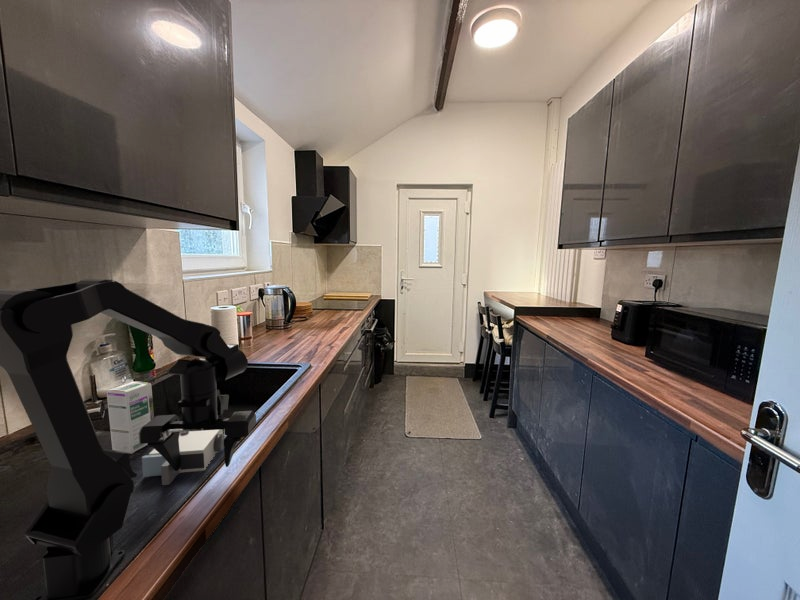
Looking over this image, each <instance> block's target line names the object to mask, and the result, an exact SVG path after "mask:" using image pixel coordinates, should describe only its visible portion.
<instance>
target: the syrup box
mask: <svg viewBox="0 0 800 600" xmlns="http://www.w3.org/2000/svg"><path fill="white" fill-rule="evenodd" d="M152 386H153V385H152V383H150V382H146V381H130V382H127V383H126V384H122V385H119V386H117V387H114V388H110V389H108V390H106V400H107V409H108V410H107V411H108V419H109V430H110V437H111V439H110V441H111V448H112V449H111V451H114V452H120V453H126V454H131V455H132V454H134V453H135V452H137V451H139V450H140V449H143V448H144V447H146V446H148V443H142V444H140V443H139V435H138V434H139V431H140V429H141V428H142V427H143V426H144V425H146V424H147V423H148V422H149V421H151V420H152V419H153V418H155V415H154V413H155V412H154V401H153V390H152V389H153V388H152Z"/></svg>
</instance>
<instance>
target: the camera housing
mask: <svg viewBox="0 0 800 600" xmlns="http://www.w3.org/2000/svg"><path fill="white" fill-rule="evenodd" d="M224 434H225V433H224V429H220V430H203V431H186V432H180V435H179V450H180V471H181V472H180V473H179V474H181V473H191V472H202V471H203V472H204V470H205V471H206V470H207V468H208V467H209V465H210V463H211V462H212V461H213V459H214V458H215V456H216V455H217V454H218V453H220V452H222V451H223V450H224V439H225V438H226V436H225V435H224ZM216 453H217V454H216ZM215 454H216V455H215ZM148 455H160V453H159V452H158V451H156V450H155V449H154V448H153V449H152V450H151V451H150V452H149V453H148ZM213 457H214V458H213ZM211 460H212V461H211ZM210 461H211V462H210ZM208 464H209V465H208ZM206 467H207V468H206Z"/></svg>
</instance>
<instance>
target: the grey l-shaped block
mask: <svg viewBox="0 0 800 600" xmlns="http://www.w3.org/2000/svg"><path fill="white" fill-rule="evenodd" d="M141 463H142V464H141V465H142V478H144V477H147V478H148V477H159V476H161V485H162V486H167V485H170V484H171V483H172V482H173V481H174V479H175V478H176V477H177V476H178V475H179V474H181V473H182V472H181V471H180V468H179V470H178V471H175V470H174V469H173V468H172V467H171V465H170V464H169V463H168V462H167V461H166V459H165V458H164V457H163V456H162V455H161V454H160V455H149V454H148V455H147V454H146V455H143V456H141ZM180 472H181V473H180Z"/></svg>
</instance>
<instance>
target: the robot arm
mask: <svg viewBox="0 0 800 600" xmlns="http://www.w3.org/2000/svg"><path fill="white" fill-rule="evenodd" d="M98 314H103V315H105V316H108V317H110V318H112V319H114V320H117V321H119V322H121V323H124V324H126V325H129V326H131V327H133V328H136V329H139V330H141V331H142V332H145V333H147V334H149V335H152V336H154V337H155V338H158V339H159V340H160V341H161V342H162V344H163V346H164V347H165V348H166V349H169V350H171V351H172V352H173V353H174V354H176V355H177V356H186V357H187V356H188V357H197V358H193V359H190V360H189V359H183V358H179V359H178V360H177V361H176V363H175V364H173V365H172V366H171V367H170V368H169V369H168V374H170V375H179V376H180V392H181V393H180V394H181V399H180V400H179V401H178V402H177V408H179V409H180V408H181V414H182V420H179V417H180V416H179V415H178V414H162V415H161V414H159V415H156V416H154V418H153V419H152V420H151V421H149V422H148V423H147V424H146V425H144V426H143V427H142V428H141V429H140V431H139V434H138V435H139V443H140V444H142V443H148V445H147V447H148V448H153V450H154V449H155V450H156V451H158V452H159V453H160V454H161V455H162V456H163V457H164V458H165V459H166V461H167V462H168V463H169V464H170V465H171V467H172V468H173V469H174V470H175V471H178V470H179V468H180V450H179V435H180V432H186V431H203V430H220V429H223V430H224V434H225V435H226V436H225V435H224V436H225V439H224V447H223V454H224V455H223V456H224V459H223V461H224V465H225V468H229V466H230V464H231V461H232V459H233V456H234V452H235V449H236V446H237V443H238V442H240V441H241V440H242V439H243V438H245V437H247V436H249V435H250V433H251V432H252V431H253V429H254V427H255V425H256V424H257V414H256V413H255V412H254V410H241V411H239V410H237V411H234V412H233V413H232V415H230V417H229V418H219V416H222V415H223V414H224V411H228V409H229V399H230V395H229V394H221V391H220V389H217V388H218V387H217V386H218V385H217V383H221V382H224V381H227V380H228V379H231V378H233V377H235V376H237V375H239V374H242V373H244V372H245V371H246V370H247V367H248V366H249V365H248V364H249V362H248V361H249V359H248V358H247V356H246V354H245V353H244V351H242V350H241V349H240V344H237V343H229V344H227V343H226V342H225V340H224V339H223V338H222V336H221V331H220V329H218V328H217V327H215V326H212V325H209V324H207V323H202V322H198V321H193V320H189V319H185V318H182V317H180V316H179V315H176V314H174V313H172V311H169V310H167V309H165V308H163V307H162V306H160V305H158V304H156V303H154V302H152V301H151V300H149V299H147V298H145V297H143V296H141V295H139V294H137V293H135V292H133V291H132V290H130V289H129V288H127V287H125V285H123V283H120V282H119V281H116V280H115V279H105V278H104V279H103V278H102V279H101V278H98V279H96V278H84V279H81V280H79V281H74V282H70V283H65V284H57V285H50V286H44V287H43V286H42V287H38V288H29V289H17V288H16V289H15V288H14V289H13V288H11V289H10V288H0V367H1V368H3V369H4V370H5V372H6V373H7V374H8V376H9V379H10V380H11V381H10V382H12V386H13V387H14V390H15V392H16V394H17V395H18V397H19V400H20V402H21V404H22V405H21V406H22V407H23V408H24V410H25V413H26V415H27V417H28V419H29V422H30V423H31V424H30V425H31V426H32V428H33V430H34V432H35V434H36V436H37V439H38V440H39V443H40V445H41V448H42V449H43V452H44V453H45V456H46V458H47V460H48V462H49V464H50V467H51V471H50V474H49V477H48V480H47V483H46V486H45V487H46V488H45V489H46V496H47V500H48V501H47V503H46V504H45V505H44V507H43V508H42V510H41V511H40V512H39V513H38V515H37V516H36V517H35V519H34V520H33V522H32V523H31V525H30V526H28V528H27V530H26V531H25V534H24V536H25V538H27V540H29V542H30V543H31V544H34V545H41V546H45V547H46V553H45V555H43V557H42V561H43V570H44V578H45V586H44V588H43V589H42V590H41V591H40V592H39V593H38V594H37V595H36V596H35V597H34V598H33V600H74V599H75V600H76V599H78V600H83V599H82V598H85V599H87V598H86V597H89V598H91V597H93V596H94V595H95V593H96V592H97V591H98V589H100V587H101V586H102V584H103V583H104V582H105V581H106V579H107V578H108V577H109V575H110V574H111V573H112V572H113V570H114V569H115V568H116V566H117V565H118V564H117V563H118V562H119V563H120V561H121V560H122V559H123V558H124V556H125V555H126V552H125V551H126V550H124V549H121V550H120V549H119V550H118V549H117V550H113V549H114V540H113V539H114V538H113V535H114V534H116V533H117V532H118V531H120V530H121V529H122V528H123V525H124V521H125V518H126V513H127V510H128V508H129V507H128V506H129V502H130V499H131V495H132V494H133V492H134V489H135V484H134V480H133V478H135V477H137V473H136V472H134V471H133V469H132V466H131V459H130V457H129V455H128V453H124V452H118V451H114V450H109V449H108V450H106V449H103V447H102V444H101V442H100V440H99V437H98V434H97V433H96V430H95V427H94V425H93V422H92V419H91V417H90V415H89V412H88V409H87V406H86V404H85V402H84V401H85V400H84V399H83V396H82V393H81V391H80V389H79V386H78V384H77V381H76V379H75V376H74V373H73V371H72V369H71V365H70V363H69V361H68V353H69V349H70V346H71V343H72V340H73V337H74V332H73V325H75V324H77V323H80V322H85V321H87V320H90V319H92V318H93V317H95V316H97V315H98ZM121 558H122V559H121ZM116 564H117V565H116ZM115 565H116V566H115ZM114 567H115V568H114ZM113 568H114V569H113ZM111 571H112V572H111ZM110 572H111V573H110ZM90 596H91V597H90Z"/></svg>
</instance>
